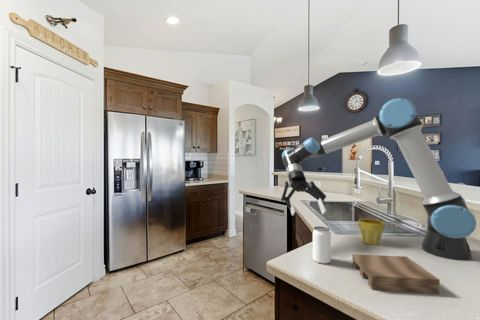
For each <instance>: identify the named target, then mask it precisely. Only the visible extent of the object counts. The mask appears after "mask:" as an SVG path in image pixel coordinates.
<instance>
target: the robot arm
mask: <svg viewBox="0 0 480 320" xmlns="http://www.w3.org/2000/svg"><path fill="white" fill-rule="evenodd" d="M417 112H418V111H417V107H416V105H415V104H414V103H413V102H412V101H411V100H409V99H406V98H403V97H402V98H398V97H397V98H393V99H391V100H389V101H387V102H385V104H383V105H382V106H381V108H380V110H379V113H378V115H376V116H375V117H373V119H372V120H370V121H367V122H365V123H361V124H360V125H359V124H358V125H357V126H355V127H352V128H349V129H346V130H344V131H341V132H339V133H337V134H333V135H331V136H329V137H326V138H324V139H321V140H318V141H317V140H316V138H314V137H309V138H307V139H305V140H304V141H303V142H302V143H300V144H299V145H298V146H296V148H294V149H293V148H287V149H285V150H283V152H282V153H281V157H282V162H283V165H284V167H285V171H286V174H287V177H288V181H285V183H284V185H283V186H284V189H283V192H282V195H281V198H280V199H281V200H280V201H282V202H284V203H285V204H286V206H287V208H289V210H290V214H291V216H295V213H296V210H295V206H294V202H293V199H292V197H293V195H294V194H295V192H297V193H300V192H302V193H303V192H304V193H306V194H308V195H310V196H311V197H313V198H314V199H316V201H317V204H318V207H319V209H320V212H321V215H325V213H326V212H327V209H326V203H325V200H326V198H327V195H326V193H324V192H323V191H322V190H321V189H320V188H319V187H318V186H317V185H316V184H315V182H314V181H313V180H310V182H308V181H307V179H306V176H305V174H304V171H303V167H302V166H301V164H302V163H303V162H304V161H306V160H307V159H309V158H314V159H316V158H321V157H322V156H323V155H327V154H329V153H332V152H334V151H338V150H340V149H343V148H347V147H349V146H353V145H355V144H358V143H361V142H364V141H366V140H370V139H373V138H375V137H378V136H380V137H384V136H385V137H386V136H388V137H389V139H390V140H394V141H396V143H397V146H398V148H399V150H400V152H401V154H402V156H403V157H404V160H405V161H406V164H407V166H408V167H409V169H410V171H411V172H410V173H412V176H413V178H414V180H415V181H416V183H417V185H418V188H419V189H420V192H421V194H422V196H423V200H422V202H421V203H422V206H423V208H424V210H425V212H426V214H427V215H426V216H427V219H426V222H427V224H426V225H427V227H426V228H427V229H426V233H425V236H424V238H423V240H422V243H421V247H422V248H421V249H422V250H423V251H425V252H427V253H428V254H431V255H434V256H437V257H442V258H446V259H451V260H460V261H461V260H466V261H467V260H470V259H472V250H471V248H470V245H469V243H468V241H467V238H466V237H468V236H470V235H471V234H473V233H474V232H475V230H476V227H477V219H476V217H475V215H474V214H473V213H472V211H471V210H470V209H469V208H468V206H467V203H466V200H465V197H462V195H461V193H459V192H456V191H454V190H453V189H452V187H451V186H450V183H449V182H448V180H447V178H446V176H445V174H444V172H443V170H442V169H441V167H440V165H439V162H438V161H437V159H436V157H435V155H434V153H433V152H432V150H431V148H430V145H429V144H428V141H427V139H426V138H425V136H424V134H423V133H422V129H423V127H424V124H423V122H422V121H421V119H420V117H419V115H418V113H417ZM289 187H291V188H292V189H291V190H290V192H289V193H288V195H287V192H288V188H289ZM286 195H287V196H286Z"/></svg>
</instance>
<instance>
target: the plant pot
mask: <svg viewBox="0 0 480 320" xmlns="http://www.w3.org/2000/svg"><path fill="white" fill-rule="evenodd" d="M358 228H359V229H360V232H361V233H360V235H361V239H362V243H364V244H367V245H374V246H375V245H377V246H378V245H380V242H381V239H382V234H383V232H384V231H385V222H384V221H382V220H379V219H374V218H360V219H358Z"/></svg>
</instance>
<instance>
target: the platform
mask: <svg viewBox="0 0 480 320" xmlns="http://www.w3.org/2000/svg"><path fill="white" fill-rule="evenodd" d="M352 267H353V268H354V269H355V270H359V275H360V277H361V278H362V279H367V286H368V287H369V288H370V289H371V290H380V291H393V292H395V291H398V292H410V293H411V292H415V293H427V292H434V293H433V294H439V293H440V284H441V283H440V282H441V281H440V280H441V279H440V278H439V277H437V276H435V275H434V274H432V273H431V272H429V271H428V270H427V269H425V268H423V267H422V266H421V265H419V264H418V263H416V262H415V261H414V260H413V259H411V258H409V257H408V256H402V255H401V256H398V255H380V254H379V255H378V254H376V255H375V254H357V253H356V254H353V253H352Z"/></svg>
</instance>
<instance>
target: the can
mask: <svg viewBox="0 0 480 320" xmlns="http://www.w3.org/2000/svg"><path fill="white" fill-rule="evenodd" d="M331 234H332V233H331V231H330V228H329V227H325V226H314V227H313V231H312V260H313V261H314V262H315V263H318V264H321V265H328V264H330V263H331V262H332V235H331Z"/></svg>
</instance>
